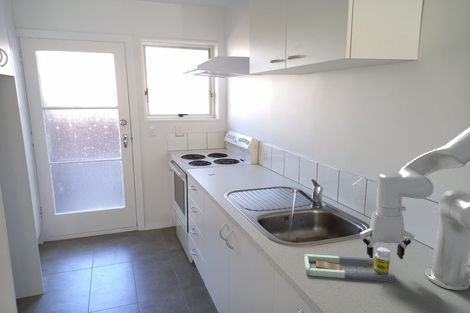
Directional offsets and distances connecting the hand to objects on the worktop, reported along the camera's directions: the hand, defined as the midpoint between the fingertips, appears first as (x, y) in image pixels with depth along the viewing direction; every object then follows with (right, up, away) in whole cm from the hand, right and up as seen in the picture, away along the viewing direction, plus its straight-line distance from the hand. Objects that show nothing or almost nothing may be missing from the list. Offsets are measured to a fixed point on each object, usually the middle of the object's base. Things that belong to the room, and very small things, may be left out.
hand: (384, 256), depth 108 cm
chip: (-20, -6, +5) cm, 22 cm away
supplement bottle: (-1, -6, +1) cm, 6 cm away
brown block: (-17, -7, +3) cm, 18 cm away
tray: (-20, -6, +4) cm, 21 cm away
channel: (-6, -7, +2) cm, 9 cm away
